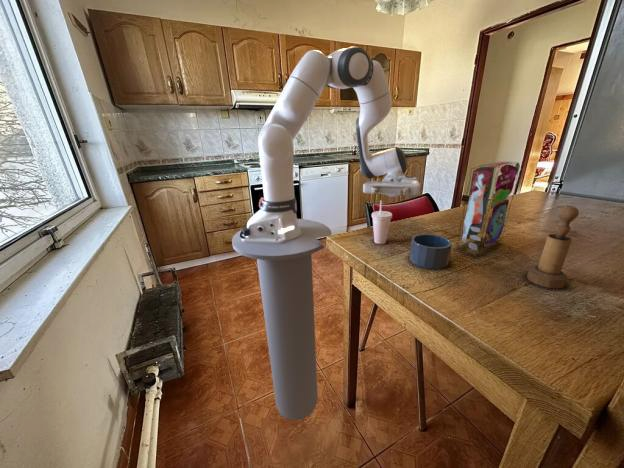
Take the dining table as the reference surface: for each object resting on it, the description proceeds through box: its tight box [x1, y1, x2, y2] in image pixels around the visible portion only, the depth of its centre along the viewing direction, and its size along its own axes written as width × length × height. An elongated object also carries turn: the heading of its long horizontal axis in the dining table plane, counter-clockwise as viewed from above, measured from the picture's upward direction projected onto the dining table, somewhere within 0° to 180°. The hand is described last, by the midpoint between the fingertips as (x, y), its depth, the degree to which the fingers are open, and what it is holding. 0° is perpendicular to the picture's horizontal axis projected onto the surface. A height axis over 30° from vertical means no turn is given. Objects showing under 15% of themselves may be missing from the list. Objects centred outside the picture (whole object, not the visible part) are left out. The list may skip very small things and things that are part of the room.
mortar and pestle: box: [526, 205, 580, 290], centre depth 56 cm, size 7×6×18 cm
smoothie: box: [371, 199, 393, 245], centre depth 82 cm, size 6×6×14 cm
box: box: [456, 161, 521, 258], centre depth 76 cm, size 25×6×24 cm, turn 125°
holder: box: [409, 233, 453, 270], centre depth 70 cm, size 10×10×6 cm
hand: (388, 192), depth 90 cm, fingers open, 8 cm apart
